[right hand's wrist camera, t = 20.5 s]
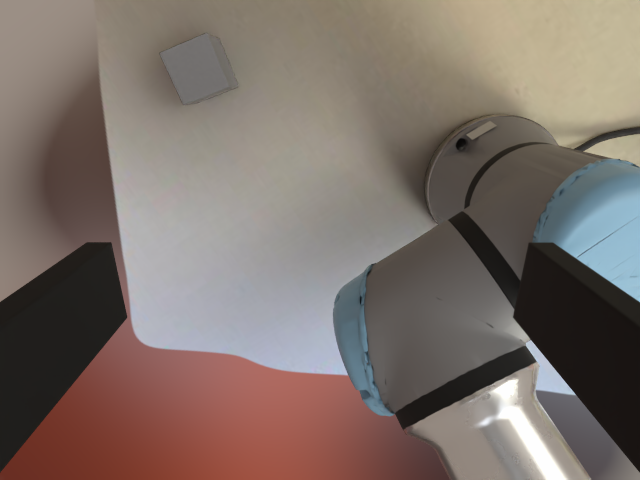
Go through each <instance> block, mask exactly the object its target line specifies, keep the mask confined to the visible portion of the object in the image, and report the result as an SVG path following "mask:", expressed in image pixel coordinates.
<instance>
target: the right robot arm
mask: <svg viewBox="0 0 640 480" xmlns="http://www.w3.org/2000/svg"><path fill="white" fill-rule="evenodd" d="M633 134H640V127H636V128H630V129H624V130H618V131H614V132H610V133H606V134H603V135H600V136H597V137H595V138H593V139H591V140H589V141H587V142H586V143H584V144H582V145H581V146H579V147H577V148H575V149H570V148H565V147H561V146H559V145H558V144H557V142H556V141H555V139H554V138H553V137H552V135H551V134H550V133H549V132H548V131H547V130H546V129H545V128H543V127H542V126H541V125H539V124H537V123H536V122H534V121H531V120H529V119H526V118H522V117H518V116H512V115H503V114H498V115H488V116H484V117H480V118H477V119H474V120H472V121H470V122H467V123H466V124H464V125H462V126H460V127H459V128H458V129H456V130H455V131H453V132H452V133H451V134H450V135H449V136H448V137H447V138H446V139H445V140H444V141H443V142H442V143H441V145H440V146H439V147H438V149H437V150H436V152H435V153H434V155H433V157H432V159H431V161H430V163H429V166H428V169H427V173H426V177H425V187H424V189H425V199H426V203H427V206H428V209H429V211H430V213H431V215H432V217H433V218H434V220H435V221H436V222H437V224H438V226H436V227H435V228H433V229H431V230H430V231H428V232H427V233H425V234H423V235H422V236H420V237H419V238H417V239H416V240H414V241H412V242H411V243H409V244H407V245H406V246H404V247H403V248H401V249H399V250H398V251H396V252H394V253H393V254H391V255H389V256H388V257H386V258H384V259H383V260H381V261H379V262H378V263H375V264H371V265H369V266H368V267H367V269H366V270H365V271H364V272H363V273H362V274H360V275H359V276H358V277H356V278H355V279H353V280H352V281H350V282H349V283H347V284H346V285H345V286H343V287H342V289H341V290H340V291H339V292H338V294H337V296H336V300H335V302H334V309H333V323H334V331H335V336H336V340H337V344H338V348H339V351H340V354H341V357H342V360H343V363H344V366H345V368H346V370H347V373H348V375H349V377H350V379H351V381H352V383H353V385H354V387H355V388H356V389H357V390H359V391H360V394H361V397H362V400H363V401H364V402H365V404H366V405H367V406H368V407H369V408H370V409H371V410H372V411H373V412H375V413H376V414H378V415H382V416H383V415H387V416H392V415H394V414H396V416H397V419H398V421H399V423H400V425H401V427H402V429H403V431H404V432H405V434H406V435H408V436H411V437H413V438H416V439H418V440H420V441H423V442H425V443H427V444H429V445H430V446H431V447H433V448H434V449H435V451H436V453H437V455H438V457H439V459H440V461H441V463H442V465H443V467H444V469H445V470H446V472H447V474H448V476H449V478H450V480H591V478H590V477H589V475H588V474H587V472H586V471H585V469H584V468H583V466H582V465H581V463H580V462H579V460H578V459H577V457H576V456H575V454H574V453H573V451H572V450H571V449H570V447H569V446H568V444H567V443H566V441H565V440H564V438H563V437H562V435H561V434H560V432H559V431H558V429H557V428H556V426H555V425H554V423H553V422H552V420H551V419H550V417H549V416H548V414H547V413H546V411H545V410H544V408H543V407H542V406H541V404H540V402H539V401H538V399H537V397H536V384H537V379H538V373H539V367H540V366H539V364H538V362H537V361H536V360H535V358H534V357H533V356H532V354H531V353H530V351H529V350H528V348H527V347H526V342H528V341H530V340H532V342H533V343H534V344H535V345H536V346H537V348H538V349H539V350H540V351H541V353H542V354H543V355H544V356H545V357H546V359H547V360H548V361H549V362H550V364H551V365H552V366H553V367H554V368H555V370H556V371H557V372H558V373H559V374H560V376H561V377H562V378H563V379H564V381H565V382H566V383H567V384H568V385H569V387H570V388H571V389H572V390H573V392H574V393H575V394H576V395H577V396H578V398H579V399H580V400H581V401H582V403H583V404H584V405H585V406H586V407H587V409H588V410H589V411H590V412H591V413H592V415H593V416H594V417H595V418H596V420H597V421H598V422H599V423H600V425H601V426H602V427H603V428H604V429H605V431H606V432H607V433H608V434H609V436H610V437H611V438H612V439H613V440H614V442H615V443H616V444H617V445H618V446H619V448H620V449H621V450H622V451H623V453H624V454H625V455H626V456H627V457H628V459H629V460H630V461H631V462H632V463H633V465H634V466H635V467H636V468H637V470H638V471H639V472H640V167H638V166H637V165H635V164H633V163H630V162H628V161H622V160H620V159H612V158H608V157H603V156H599V155H595V154H591V153H586V152H583V151H585V150H587V149H588V148H590V147H591V146H593V145H595V144H597V143H599V142H602V141H605V140H608V139H612V138H616V137H621V136H627V135H633ZM126 318H127V314H126V309H125V305H124V300H123V295H122V291H121V286H120V281H119V276H118V272H117V267H116V262H115V258H114V253H113V248H112V244H111V242H107V243H106V242H94V243H93V242H88V243H85V244H84V245H83V246H81V247H80V248H78V249H77V250H75V251H74V252H72V253H71V254H69V255H68V256H67V257H65V258H64V259H62V260H61V261H59V262H58V263H56V264H55V265H53V266H52V267H51V268H49V269H48V270H46V271H45V272H43V273H42V274H40V275H39V276H37V277H36V278H35V279H33V280H32V281H30V282H29V283H27V284H26V285H24V286H23V287H21V288H20V289H19V290H17V291H16V292H14V293H13V294H11V295H10V296H8V297H7V298H5V299H4V300H3V301H1V302H0V472H1V471H2V470H3V468H4V467H5V466H6V465H7V464H8V462H9V461H10V460H11V459H12V457H13V456H14V455H15V454H16V453H17V451H18V450H19V449H20V448H21V446H22V445H23V444H24V443H25V442H26V440H27V439H28V438H29V437H30V436H31V434H32V433H33V432H34V431H35V429H36V428H37V427H38V426H39V425H40V423H41V422H42V421H43V420H44V418H45V417H46V416H47V415H48V414H49V412H50V411H51V410H52V409H53V407H54V406H55V405H56V404H57V403H58V401H59V400H60V399H61V398H62V396H63V395H64V394H65V393H66V392H67V390H68V389H69V388H70V387H71V385H72V384H73V383H74V382H75V381H76V379H77V378H78V377H79V376H80V374H81V373H82V372H83V371H84V370H85V368H86V367H87V366H88V365H89V363H90V362H91V361H92V360H93V359H94V357H95V356H96V355H97V354H98V353H99V351H100V350H101V349H102V348H103V346H104V345H105V344H106V343H107V341H108V340H109V339H110V338H111V337H112V335H113V334H114V333H115V332H116V331H117V329H118V328H119V327H120V326H121V324H122V323H123V322H124V321H125V320H126Z"/></svg>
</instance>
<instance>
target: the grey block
mask: <svg viewBox="0 0 640 480" xmlns="http://www.w3.org/2000/svg"><path fill="white" fill-rule="evenodd" d="M159 54H160V56H161V58H162V61H163V63H164V65H165V67H166V69H167V71H168V73H169V76H170V78H171V80H172V82H173V84H174V86H175V88H176V91H177V93H178V95H179V97H180V99H181V101H182V103H183V105H188V104H194V103H199V102H202V101H204V100H207V99H209V98H211V97H214V96H216V95H219V94H221V93H224V92H226V91H229V90H231V89H234V88H236V87H238V86H239V85H238V83H237V80H236V78H235V76H234V73H233V71H232V68H231V66H230V63H229V61H228V58H227V56H226V54H225V51H224V49H223V46H222V44H221V41H220V39H219V38H217V37H215V36H212V35H210V34H208V33H205V34H202V35H200V36H198V37H195V38H193V39H191V40H188V41H186V42H184V43H181V44H179V45H177V46H174V47H172V48H169V49H167V50H165V51H162V52H160V53H159Z"/></svg>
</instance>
